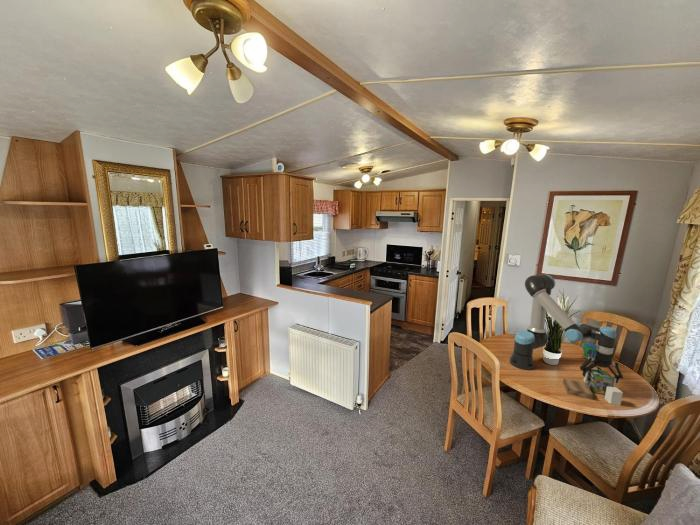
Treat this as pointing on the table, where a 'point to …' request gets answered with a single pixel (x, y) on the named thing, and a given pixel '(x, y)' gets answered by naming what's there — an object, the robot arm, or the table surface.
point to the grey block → (613, 395)
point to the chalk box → (599, 380)
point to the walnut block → (577, 389)
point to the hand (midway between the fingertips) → (598, 384)
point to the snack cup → (589, 350)
